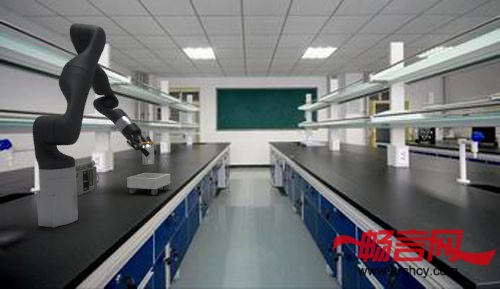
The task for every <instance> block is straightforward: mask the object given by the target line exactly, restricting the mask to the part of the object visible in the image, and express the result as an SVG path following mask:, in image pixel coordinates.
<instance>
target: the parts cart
mask: <svg viewBox="0 0 500 289" xmlns="http://www.w3.org/2000/svg"><path fill="white" fill-rule="evenodd" d="M126 182H127V183H126V184H127V185H126V186H127V188H129V190H128V191H129V194H132V195H133V194H134V195H135V194H136V192H137V189H143V190H150V191H151V192H150V193H151V195H152V196H156V195H157V194H158V189H160V188H162V190H163V191H168V190H169V188H170V186H169V185H170V184H171V173H153V172H143V173H139V174H135V175H130V176H128V177H126Z"/></svg>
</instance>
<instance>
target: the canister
mask: <svg viewBox="0 0 500 289" xmlns="http://www.w3.org/2000/svg"><path fill="white" fill-rule="evenodd" d="M142 143H143V146H144V148H146V150H147V151H148V152H149V153H150V155H149V156H148V157H146V156H145V155H144V154H143V153H142V152H141V154H142V165H144V166H145V165H146V166H147V165H154V164H155V155H154V149H155V141H152V142H142Z"/></svg>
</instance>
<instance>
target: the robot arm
mask: <svg viewBox="0 0 500 289" xmlns="http://www.w3.org/2000/svg"><path fill="white" fill-rule="evenodd" d="M69 36H70V37H69V38H70V42H71V44H72V46H73V48H74V50H75V52H76V54H77V55H75V56H74V57H73V58H70V60H68V61H67V62H66V63H65V64H64V66H63V67H62V70H61V73H60V75H59V78H58V87H59V89H60V91H61V94H62V95H63V96H64V97H63V98H64V99H65V100H66V105H67V106H66V110H65V112H64V114H63V115H40V116H37V117H36V118H35V119H34V121H33V123H32V139H33V147H34V157H35V160H36V162H37V165H38V180H39V183H38V184H39V193H37V194H36V207H37V210H36V211H37V224H38V226H39V227H48V228H56V227H61V226H65V225H69V224H72V223H74V222H77V221H78V219H79V218H78V217H79V214H78V213H79V212H78V196H77V190H76V168H75V164H76V159H75V158H74V156H71V155H67V154H66V153H63V152H61V151H60V150H59V148H58V146H72V145H75V144H76V143H77V141H78V140H79V137H80V136H81V135H80V134H81V132H82V125H83V119H84V113H85V110H86V109H85V108H86V104H87V101H88V96H89V94H90V91H91V89H92V90H93V93H94V94H95V95H97V96H98V97H97V98H95V99H94V100H93V102H92V105H93V108H94V109H95V110H96V111H97V113H99V114H101V115H103V117H105V118H107V119H109V120H110V121H111V122H112V124H114V126H115V127H116V129H117V130H118V131H119V132H120V133H121V135H122V136H123V137H124V138H125V139H126V144H128V145H129V146H130V147H131V148H132V149H134V150H135V151H139V152H140V153H141V154H142V153H143V154H144V155H145V156H146V157H148V156H149V155H150V153H149V152H148V151H147V150H146V148H144V146H143V143H142V142H153V140H152V139H151V138H150V136H146V137H145V136H144V135H143V134H142V129H141V128H140V127H139V126H138V124H136V122H135V121H134V120H133V119H132V118H130V116H129V115H128V114H127V113H126V112H125V111H124V110H123V109H122V108H118V107H119V104H120V100H119V98H118V97H117V96H116V95H115V93H114V90H113V89H112V88H111V84H110V80H109V77H108V74H107V73H106V71H105V70H104V69H103V68H102V66H100V65H99V60H100V59H101V56H102V54H103V52H104V50H105V47H106V44H107V35H106V31H105V30H104V29H103V27H101V26H99V25H96V24H90V23H89V24H88V23H87V24H86V23H72V24H70V28H69ZM91 87H92V88H91ZM157 154H158V151H157V150H156V148H154V156H156V155H157Z"/></svg>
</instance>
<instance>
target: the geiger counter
mask: <svg viewBox="0 0 500 289" xmlns="http://www.w3.org/2000/svg"><path fill="white" fill-rule="evenodd" d="M75 168H76V190H77V197H79V196H81V195H83V193H84V194H86V193H89V192H92V191H94V190H96V188H97V189H98V183H100V176H99V175H98V173H97V166H96V161H95V160H93V159H91V160H86V161H84V162H80V163H79V162H78V163H75ZM93 189H94V190H93ZM88 191H89V192H88ZM78 195H79V196H78Z"/></svg>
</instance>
